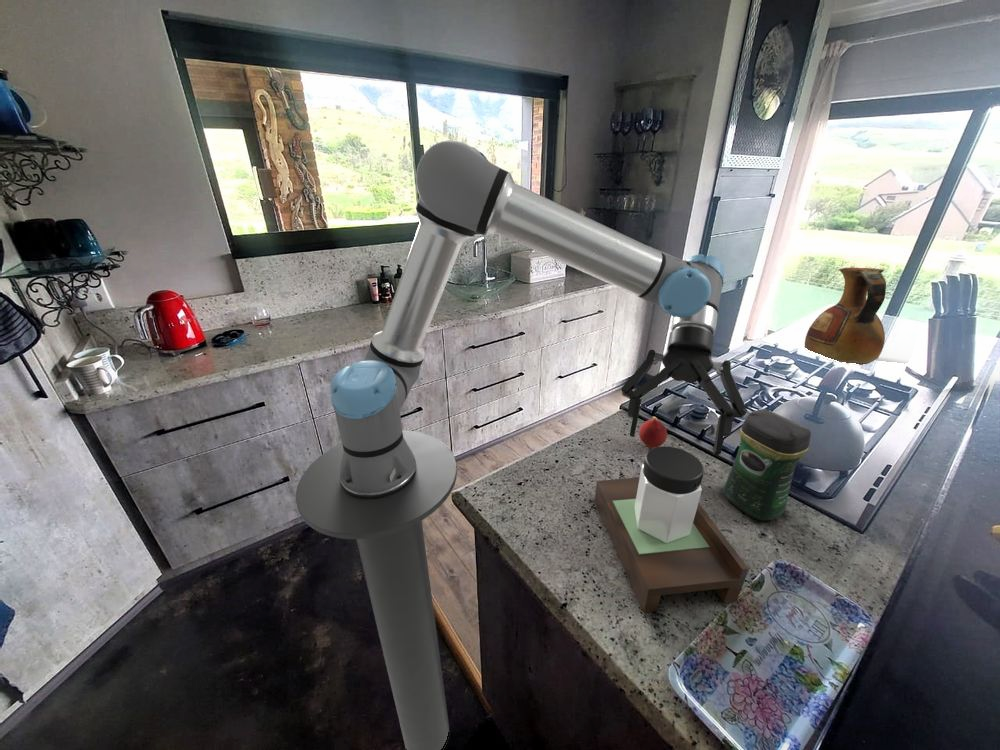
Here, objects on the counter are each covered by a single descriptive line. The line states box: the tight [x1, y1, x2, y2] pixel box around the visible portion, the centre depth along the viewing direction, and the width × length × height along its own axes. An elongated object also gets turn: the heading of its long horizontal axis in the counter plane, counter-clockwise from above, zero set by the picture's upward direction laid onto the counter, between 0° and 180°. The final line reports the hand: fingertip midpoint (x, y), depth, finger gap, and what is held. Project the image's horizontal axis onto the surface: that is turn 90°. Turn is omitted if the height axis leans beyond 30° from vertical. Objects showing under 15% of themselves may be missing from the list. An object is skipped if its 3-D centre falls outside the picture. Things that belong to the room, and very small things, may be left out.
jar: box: [634, 445, 704, 543], centre depth 62 cm, size 9×8×12 cm
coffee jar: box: [722, 408, 812, 522], centre depth 71 cm, size 10×8×19 cm
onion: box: [638, 416, 668, 449], centre depth 90 cm, size 6×6×8 cm
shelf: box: [594, 476, 750, 613], centre depth 66 cm, size 22×14×7 cm, turn 6°
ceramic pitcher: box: [804, 266, 887, 366], centre depth 127 cm, size 20×20×30 cm
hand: (672, 444), depth 69 cm, fingers open, 13 cm apart
